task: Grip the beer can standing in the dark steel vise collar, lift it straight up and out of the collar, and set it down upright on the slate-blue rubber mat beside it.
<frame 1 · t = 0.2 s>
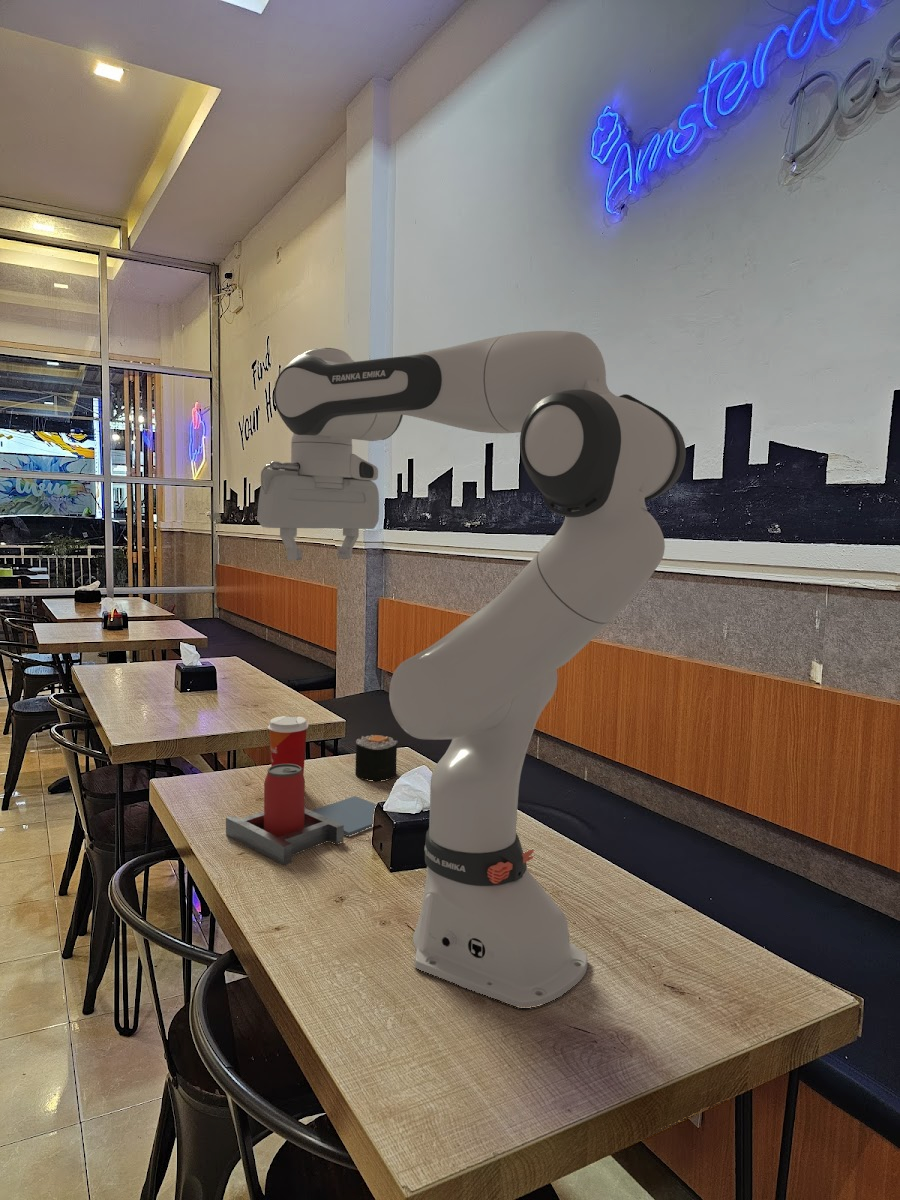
hand: (320, 559, 115), 47 cm above the table, tool pointing down, fingers open, 8 cm apart
rubber mat: (352, 817, 139), on the table
beer can: (284, 839, 129), resting in vise collar
sushi: (375, 775, 162), on the table
vise collar: (284, 838, 129), on the table
paper cup: (287, 791, 151), on the table
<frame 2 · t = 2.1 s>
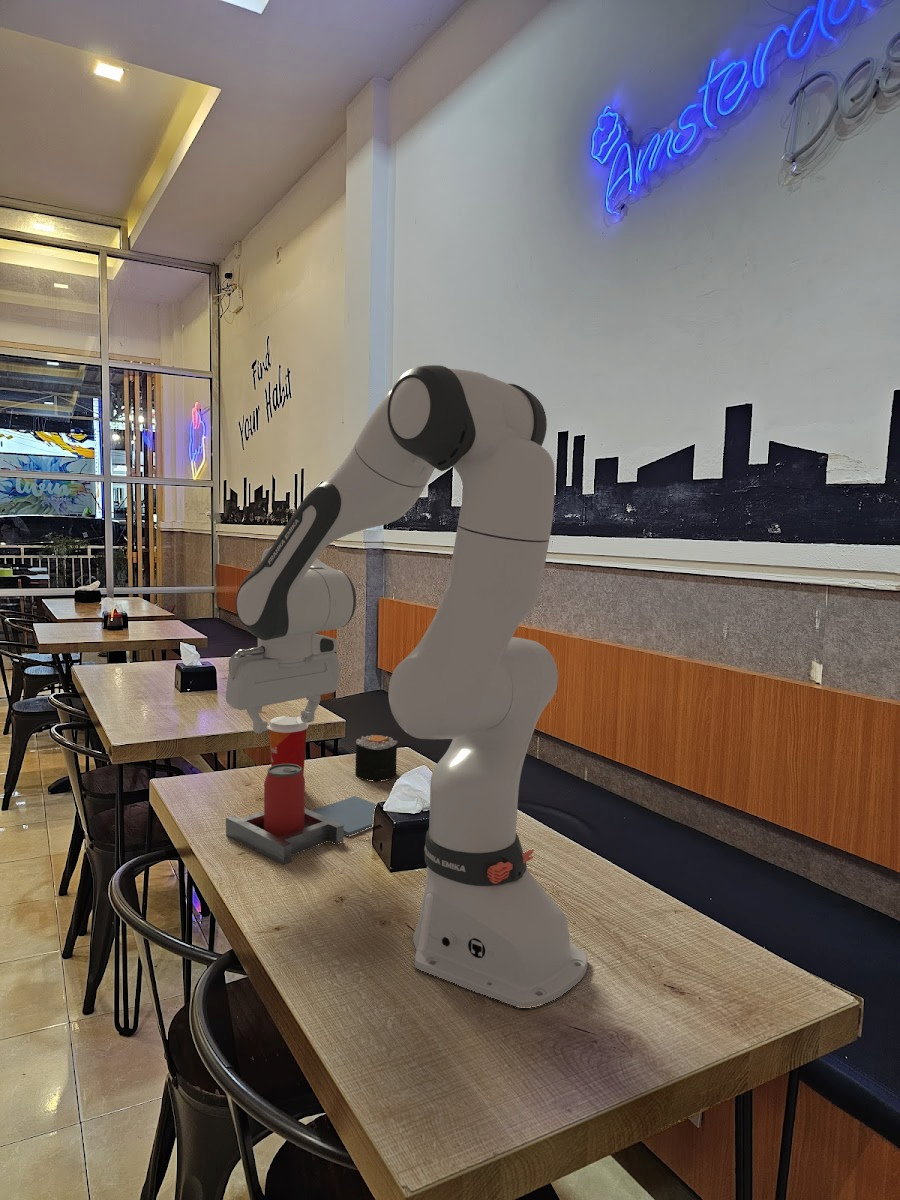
hand: (284, 726, 127), 19 cm above the table, tool pointing down, fingers open, 8 cm apart
nothing on the table moved.
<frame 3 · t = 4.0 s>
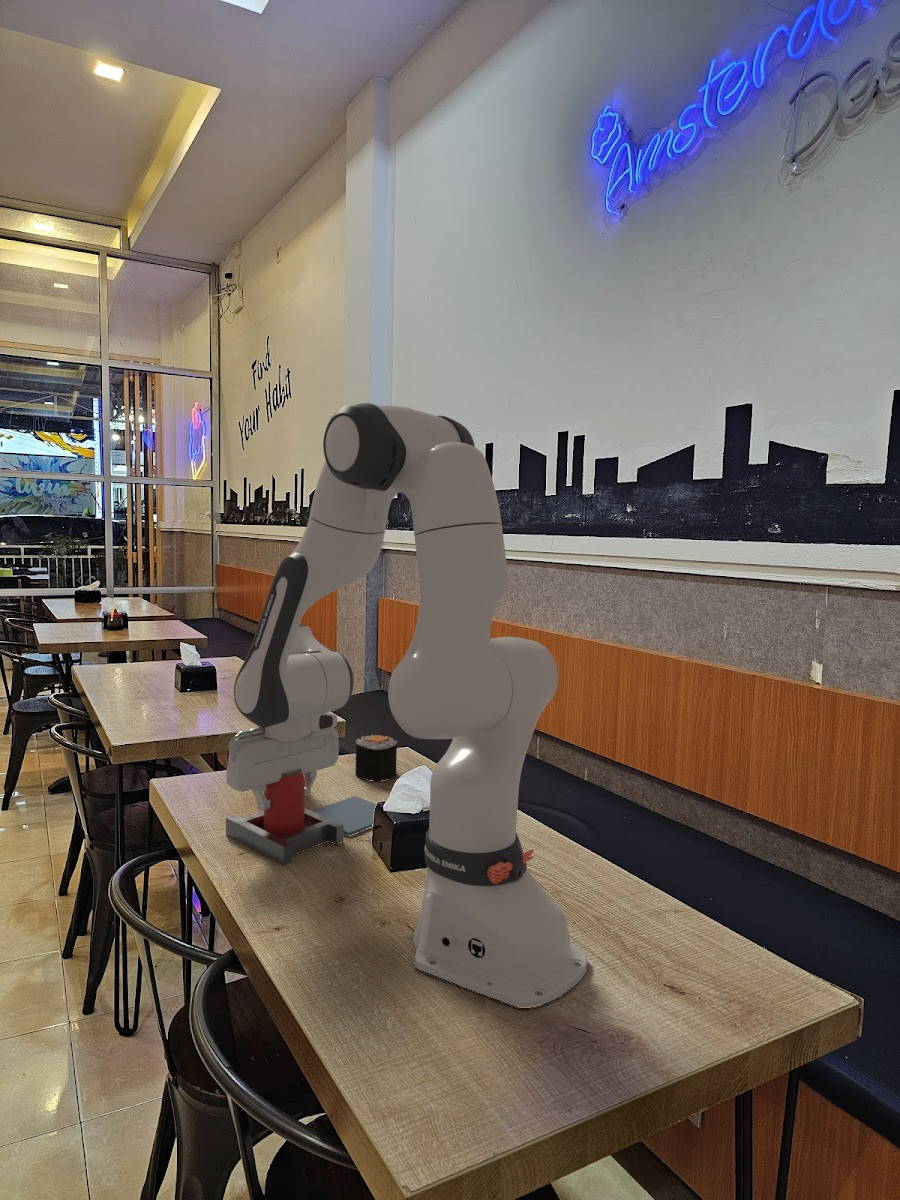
hand: (284, 803, 128), 6 cm above the table, tool pointing down, fingers closed on beer can, 7 cm apart
beer can: (284, 839, 129), resting in vise collar, touching gripper
everything else where it was.
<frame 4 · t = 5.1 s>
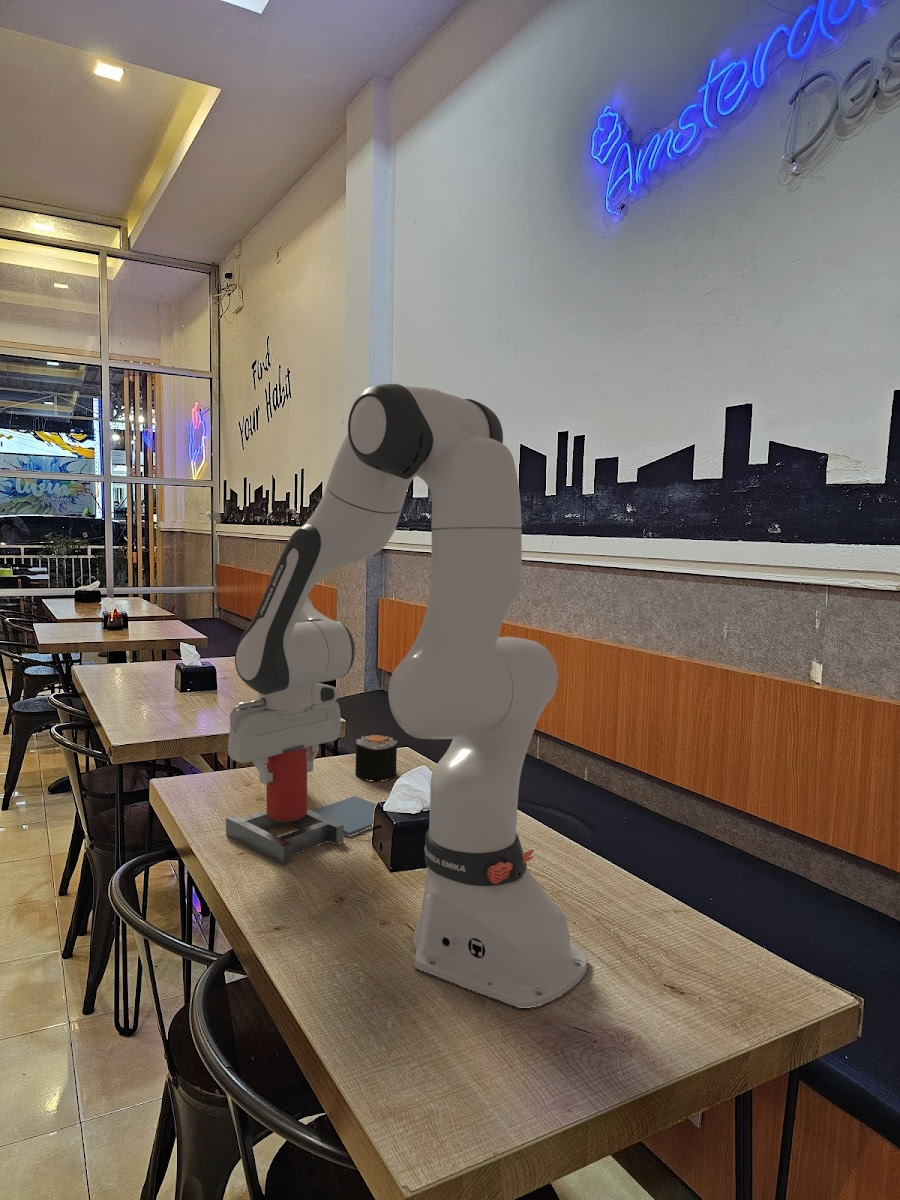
hand: (287, 777, 127), 11 cm above the table, tool pointing down, fingers closed on beer can, 7 cm apart
beer can: (287, 817, 128), point 4 cm above the table, touching gripper
everything else where it was.
when the fingers open (12 cm above the table, at t = 6.6 s): beer can drops 3 cm, resting on rubber mat.
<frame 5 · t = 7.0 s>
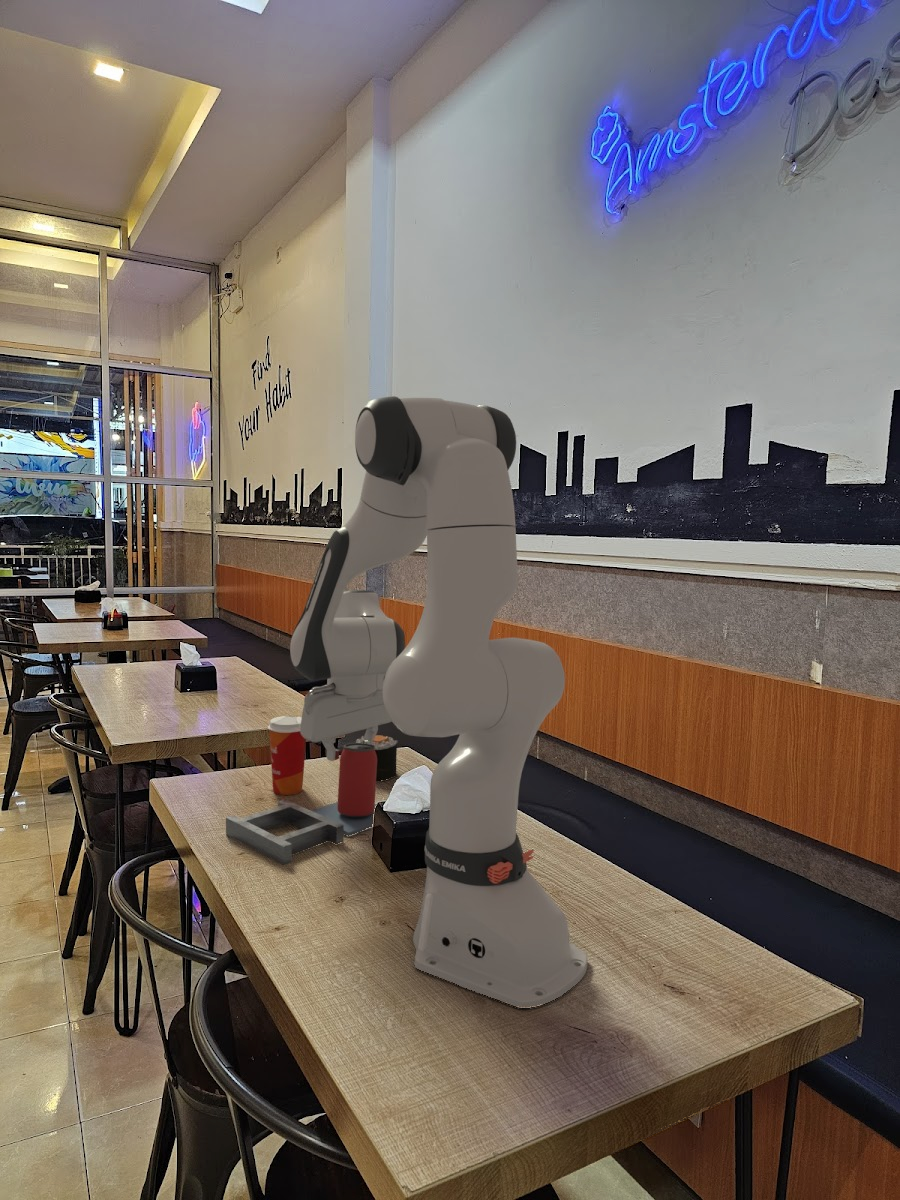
hand: (349, 754, 139), 11 cm above the table, tool pointing down, fingers open, 6 cm apart
beer can: (355, 814, 138), point 1 cm above the table, touching gripper, rubber mat
everything else where it was.
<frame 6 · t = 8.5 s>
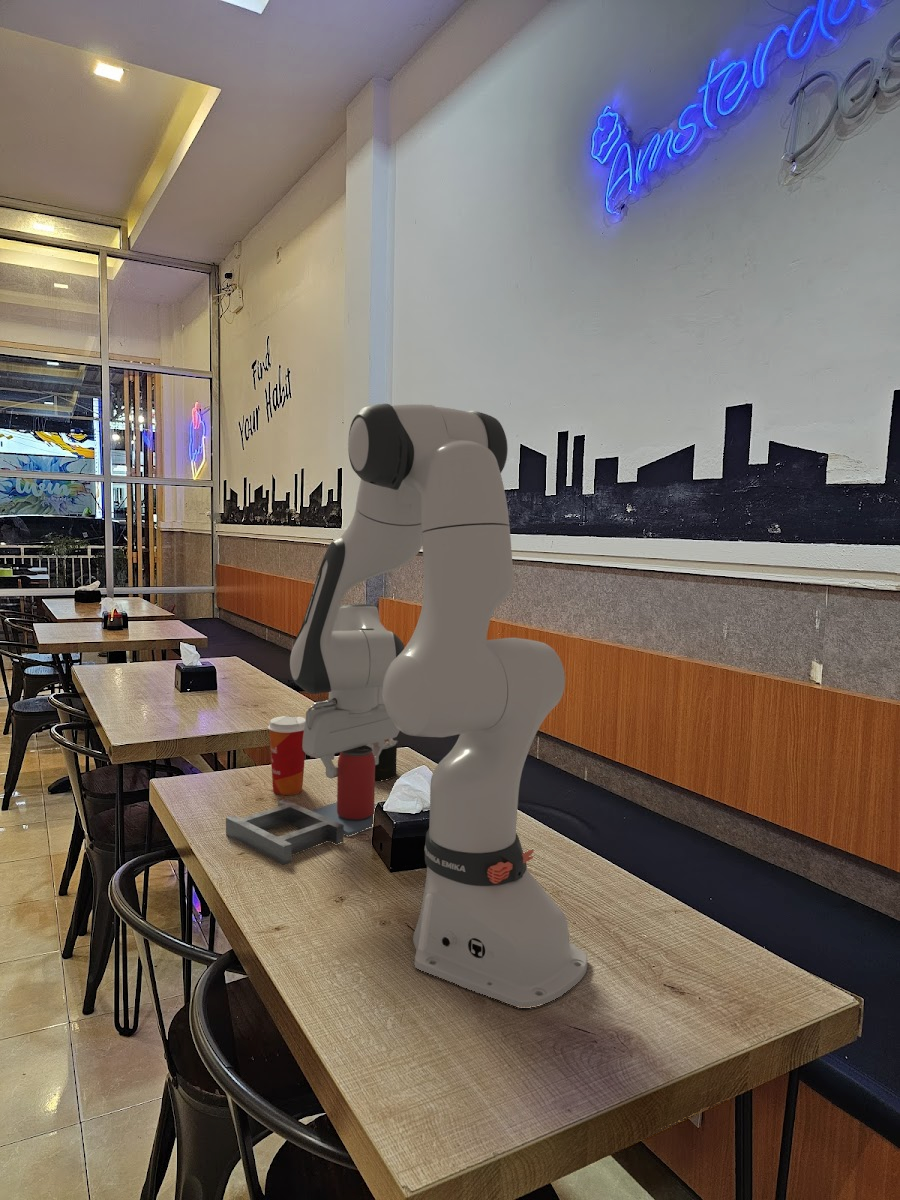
hand: (352, 770, 138), 9 cm above the table, tool pointing down, fingers open, 8 cm apart
beer can: (355, 815, 138), point 1 cm above the table, touching rubber mat
everything else where it was.
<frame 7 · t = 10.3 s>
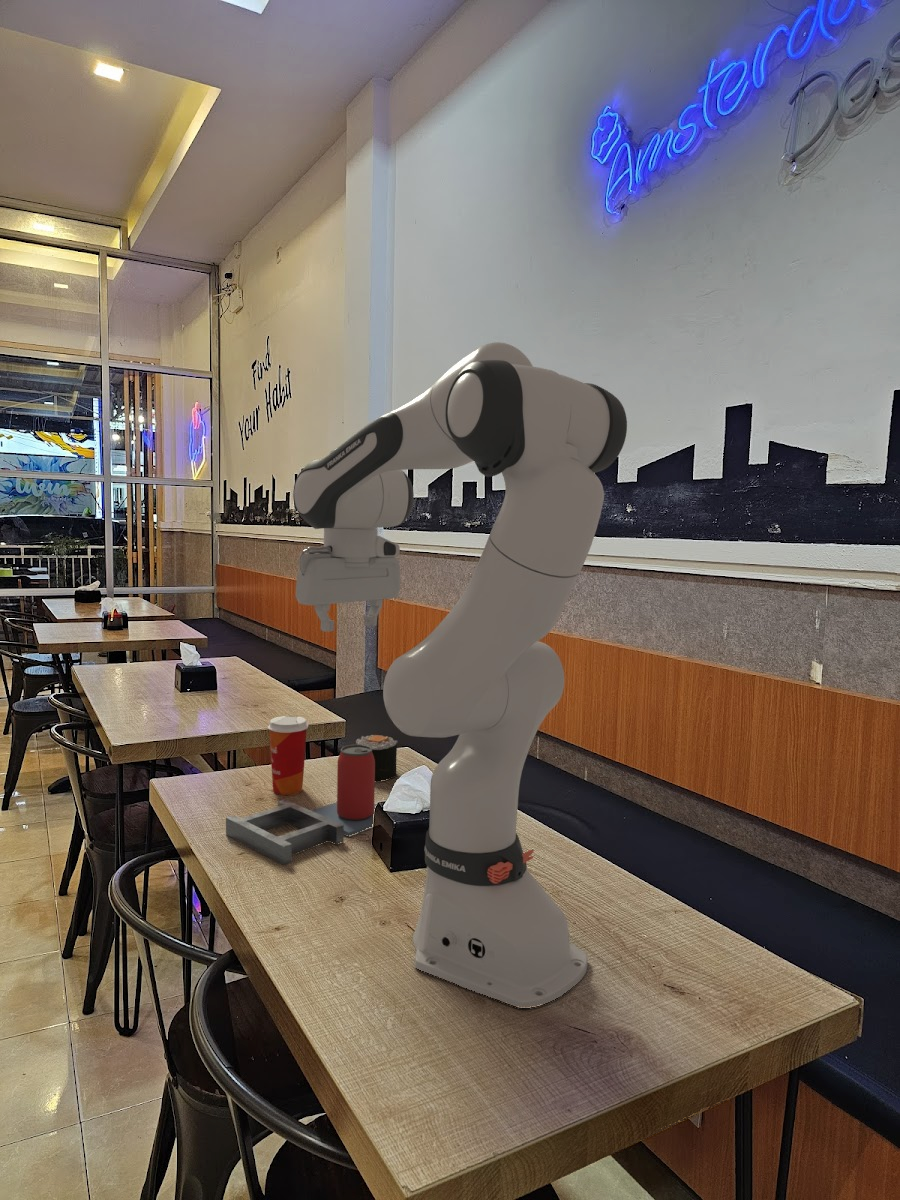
hand: (349, 628, 130), 35 cm above the table, tool pointing down, fingers open, 8 cm apart
nothing on the table moved.
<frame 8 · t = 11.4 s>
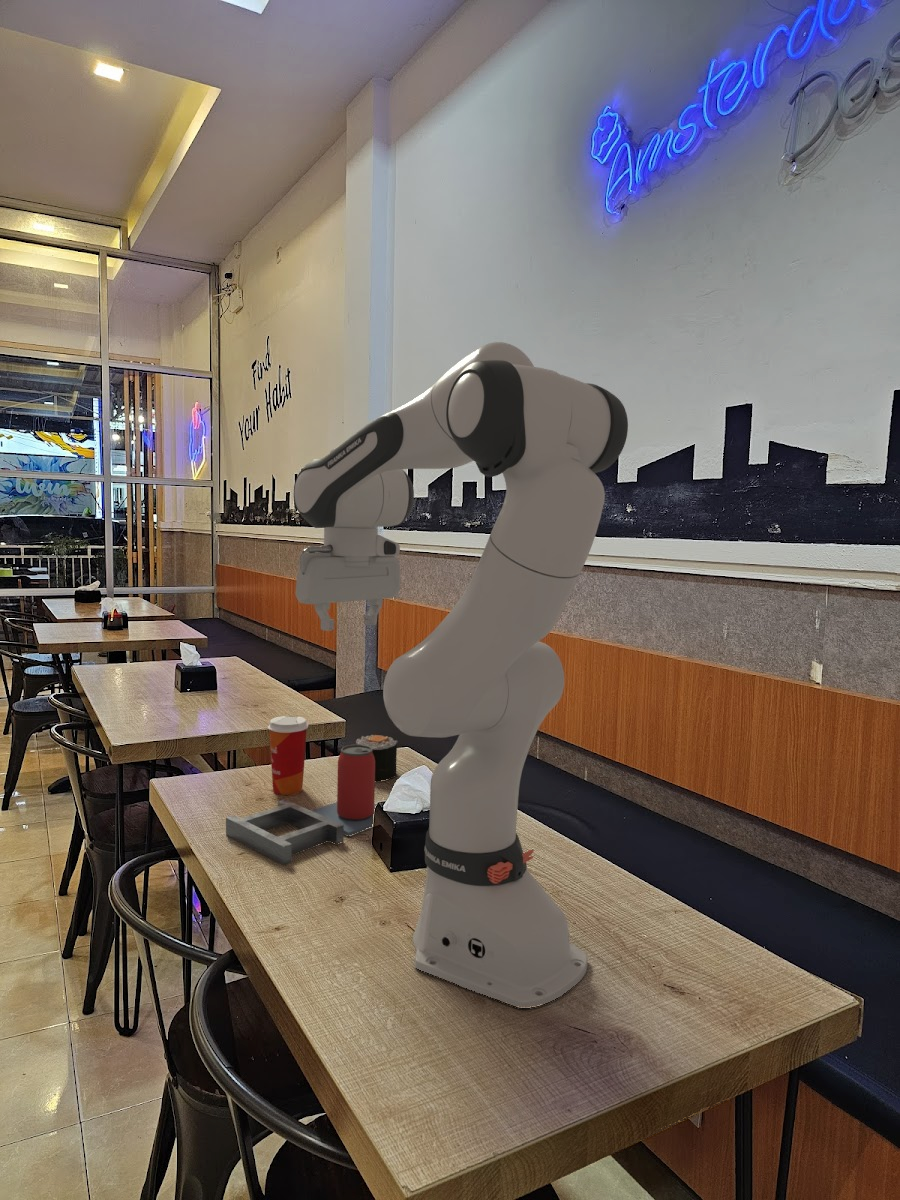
hand: (349, 627, 130), 35 cm above the table, tool pointing down, fingers open, 8 cm apart
nothing on the table moved.
at the end: beer can inside the target area (0.9 cm from its centre), point 0.6 cm above the table; beer can tilted 0°; the gripper is holding nothing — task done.
